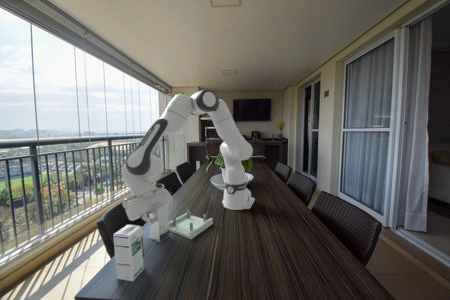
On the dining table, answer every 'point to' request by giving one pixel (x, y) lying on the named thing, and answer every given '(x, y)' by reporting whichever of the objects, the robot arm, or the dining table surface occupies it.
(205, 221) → the pin tray
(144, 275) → the dining table surface
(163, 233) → the white carton
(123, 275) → the syrup box
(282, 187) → the dining table surface
